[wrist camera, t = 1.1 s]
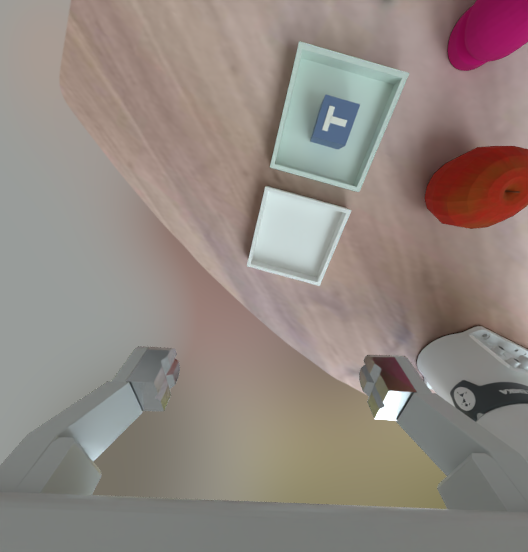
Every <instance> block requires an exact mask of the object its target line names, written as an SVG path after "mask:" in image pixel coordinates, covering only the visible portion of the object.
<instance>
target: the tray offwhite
mask: <svg viewBox="0 0 528 552" xmlns="http://www.w3.org/2000/svg"><path fill="white" fill-rule="evenodd" d="M350 213H351V210H350V209H348V208H345V207H341V206H338V205H334V204H331V203H327V202H323V201H320V200H316V199H313V198H309V197H305V196H302V195H298V194H295V193H291V192H288V191H284V190H280V189H277V188H273V187H270V186H265V190H264V194H263V199H262V203H261V207H260V212H259V216H258V220H257V224H256V229H255V233H254V237H253V242H252V246H251V250H250V254H249V259H248V263H247V266H248V267H252V268H256V269H259V270H263V271H267V272H270V273H274V274H278V275H281V276H285V277H288V278H292V279H296V280H299V281H303V282H307V283H310V284H314V285H318V286H320V284H321V281H322V279H323V277H324V274H325V272H326V269H327V267H328V265H329V262H330V260H331V258H332V255H333V253H334V250H335V248H336V246H337V243H338V241H339V239H340V236H341V234H342V232H343V229H344V227H345V224H346V222H347V220H348V217H349V215H350Z"/></svg>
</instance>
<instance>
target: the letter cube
mask: <svg viewBox="0 0 528 552" xmlns="http://www.w3.org/2000/svg"><path fill="white" fill-rule="evenodd" d="M359 107H360V104H357V103H354V102H350V101H347V100H343V99H340V98H336V97H333V96H329V95H326V94H325V97H324V99H323V101H322V103H321V105H320V109H319V112H318V116H317V119H316V122H315V126H314V129H313V133H312V136H311V139H310V142H313V143H317V144H320V145H324V146H327V147H331V148H334V149H340V148H342V147H344V146H346V143H347V140H348V137H349V135H350V132H351V129H352V126H353V123H354V121H355V118H356V115H357V112H358V110H359Z"/></svg>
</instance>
